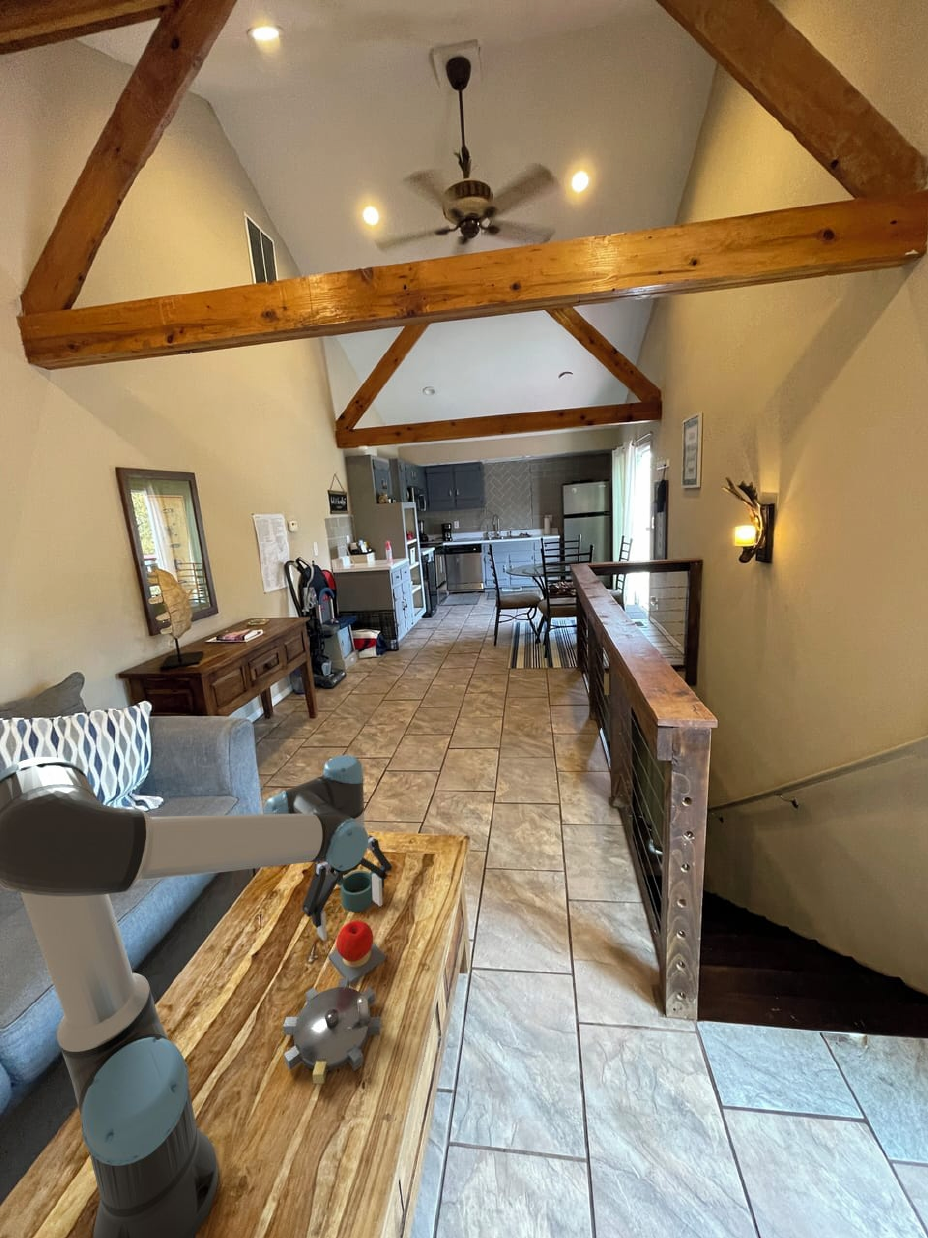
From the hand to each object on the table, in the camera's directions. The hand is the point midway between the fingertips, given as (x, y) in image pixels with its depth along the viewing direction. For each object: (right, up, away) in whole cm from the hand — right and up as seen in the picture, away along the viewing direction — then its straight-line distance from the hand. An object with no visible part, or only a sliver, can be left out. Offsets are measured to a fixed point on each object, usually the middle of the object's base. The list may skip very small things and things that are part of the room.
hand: (350, 919), depth 108 cm
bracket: (-2, -7, +20) cm, 22 cm away
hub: (0, -14, -13) cm, 19 cm away
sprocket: (0, -14, -13) cm, 19 cm away
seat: (+1, -11, +3) cm, 11 cm away
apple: (+1, -10, +2) cm, 10 cm away
